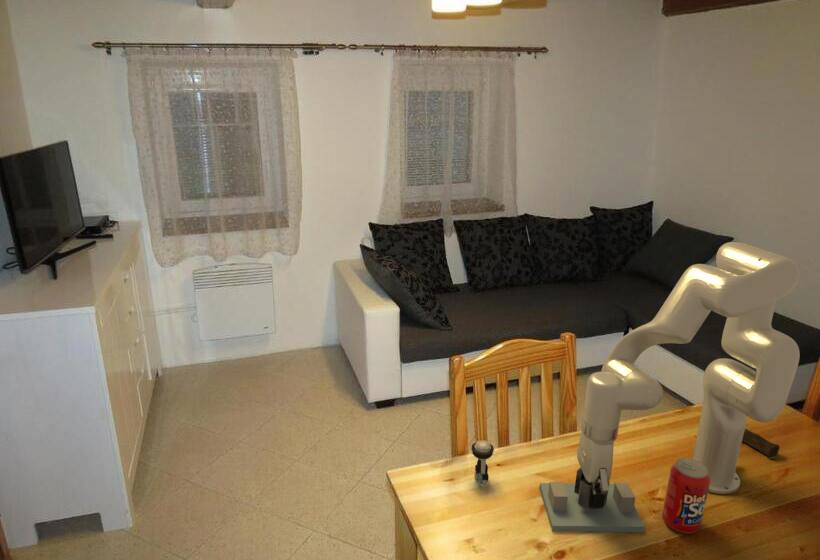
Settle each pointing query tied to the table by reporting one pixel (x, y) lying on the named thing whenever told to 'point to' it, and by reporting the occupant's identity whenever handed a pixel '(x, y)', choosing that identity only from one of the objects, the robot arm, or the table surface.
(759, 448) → the dark brown bar
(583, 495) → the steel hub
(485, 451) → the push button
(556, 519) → the shaft stand
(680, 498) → the soda can
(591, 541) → the table surface
